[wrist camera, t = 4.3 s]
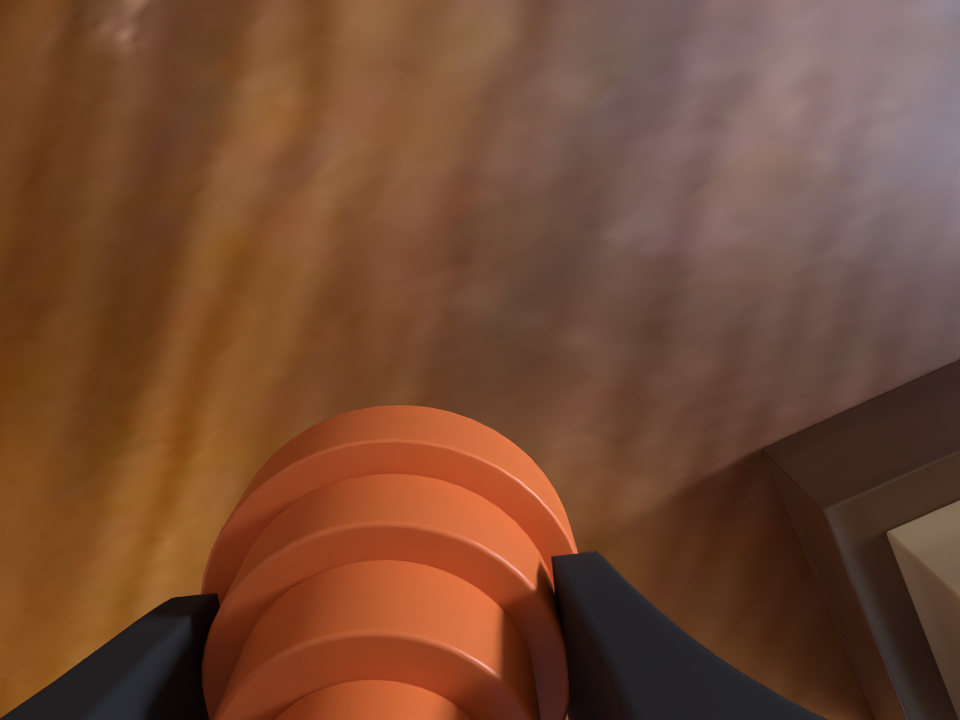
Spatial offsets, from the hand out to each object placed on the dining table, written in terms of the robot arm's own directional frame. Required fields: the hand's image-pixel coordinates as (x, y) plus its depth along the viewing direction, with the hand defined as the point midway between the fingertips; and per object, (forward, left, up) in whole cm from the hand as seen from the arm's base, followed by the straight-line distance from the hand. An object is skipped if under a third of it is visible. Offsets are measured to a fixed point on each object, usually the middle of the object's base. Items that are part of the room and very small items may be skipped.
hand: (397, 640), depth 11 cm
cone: (0, 0, -2) cm, 2 cm away
